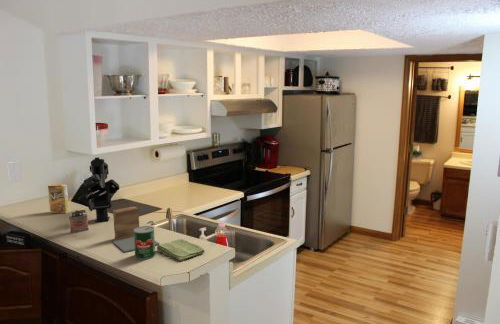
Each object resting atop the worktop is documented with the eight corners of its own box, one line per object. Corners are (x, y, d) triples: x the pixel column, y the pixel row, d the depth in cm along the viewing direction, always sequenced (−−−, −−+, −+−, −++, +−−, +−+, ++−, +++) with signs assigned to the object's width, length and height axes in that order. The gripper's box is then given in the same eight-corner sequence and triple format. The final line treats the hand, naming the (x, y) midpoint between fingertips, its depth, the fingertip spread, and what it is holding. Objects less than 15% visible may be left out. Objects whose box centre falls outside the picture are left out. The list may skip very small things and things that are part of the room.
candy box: (50, 213, 232) (47, 185, 230) (54, 211, 236) (51, 183, 234) (65, 213, 232) (63, 185, 229) (69, 211, 236) (67, 183, 233)
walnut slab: (114, 238, 191) (112, 210, 189) (136, 233, 197) (134, 206, 195) (117, 241, 188) (115, 212, 186) (139, 236, 194) (138, 208, 192)
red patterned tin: (71, 233, 198) (69, 212, 197) (69, 231, 201) (67, 211, 200) (89, 230, 203) (87, 209, 201) (87, 228, 206) (86, 208, 204)
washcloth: (180, 263, 164) (180, 255, 163) (154, 251, 176) (154, 244, 176) (207, 254, 173) (207, 246, 172) (181, 243, 185) (180, 236, 185)
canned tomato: (139, 261, 165) (137, 233, 164) (132, 255, 172) (130, 228, 170) (158, 256, 170) (157, 229, 168) (150, 250, 176) (149, 224, 175)
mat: (112, 242, 186) (112, 241, 186) (145, 235, 195) (145, 234, 195) (124, 252, 174) (124, 251, 174) (159, 244, 183) (159, 243, 183)
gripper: (70, 181, 201) (69, 206, 190) (104, 163, 199) (105, 187, 188) (86, 194, 209) (86, 218, 198) (119, 176, 207) (121, 200, 196)
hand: (99, 206), depth 195 cm, fingers open, 9 cm apart
